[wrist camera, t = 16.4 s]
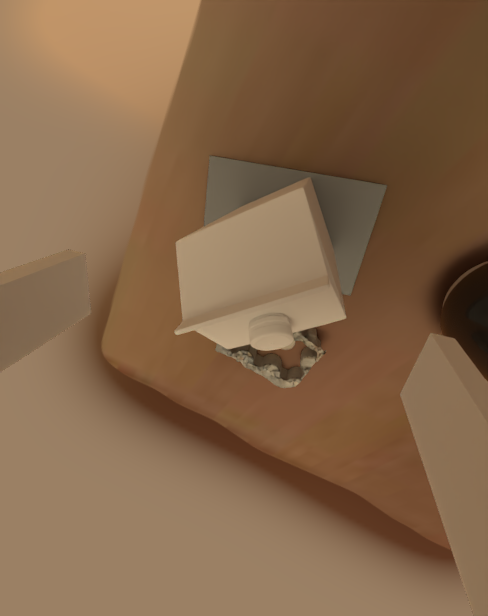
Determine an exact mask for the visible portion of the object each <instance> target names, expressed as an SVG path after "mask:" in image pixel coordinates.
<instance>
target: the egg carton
mask: <svg viewBox="0 0 488 616" xmlns="http://www.w3.org/2000/svg"><path fill="white" fill-rule="evenodd" d="M293 338H294V340H293V342H292V343H291V344H290V345H288V346H286V347H283V348H281V349H283V350H289V349H292V348H293V347H294V345H295V341H302V342H303V343H304V344H305V345H306V346H308V347H306V348H304V349H303V350H302V353H301V361H300V365H301V367H292V368H290V369H289V370H287V369H285V368H283V367H281V366H282V360H281V358H280V357H279V356H278V355H276V354H267V355H266V356H264V357H262V356H260V355H258V354H257V353H256V352H257V349H255V348H253V347H252V346H251V344H248V345H244V346H240V347H236V348H232V349H226V348H224V347H223V346H221V345H219V344H217V346H216V349H215V350H216V351H217V352H220V353H222V354H225V355H227V356H229V357H233V358H234V359H236V361H237V362H239V361H240V362H241V363H242V364H243V366H244V367H245V368H248V369H251V370H253V371H254V372H256V373H257V374H259V375H262V376H264V377H265V378H267V379H268V380H269V381H271V382H272V383H273V384H275V385H276V386H278V387H281V388H288V387H296V386H297V385H298V384H299V383H300V382H301V380H302V379H303V377H304V376H305V375H306V374H307V373H308V372H309V370H310V368H311V367H312V366H313V364H314V363H315V362H317V361H318V360H319V359H320V358H321V357H322V355H324V354H325V353H326V350H325V351H323V350H322V348H321V341H320V340H319V339H318V338H317V331H316V329H315V328H310V329H306V330H302V331H298V332H294V333H293Z"/></svg>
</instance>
